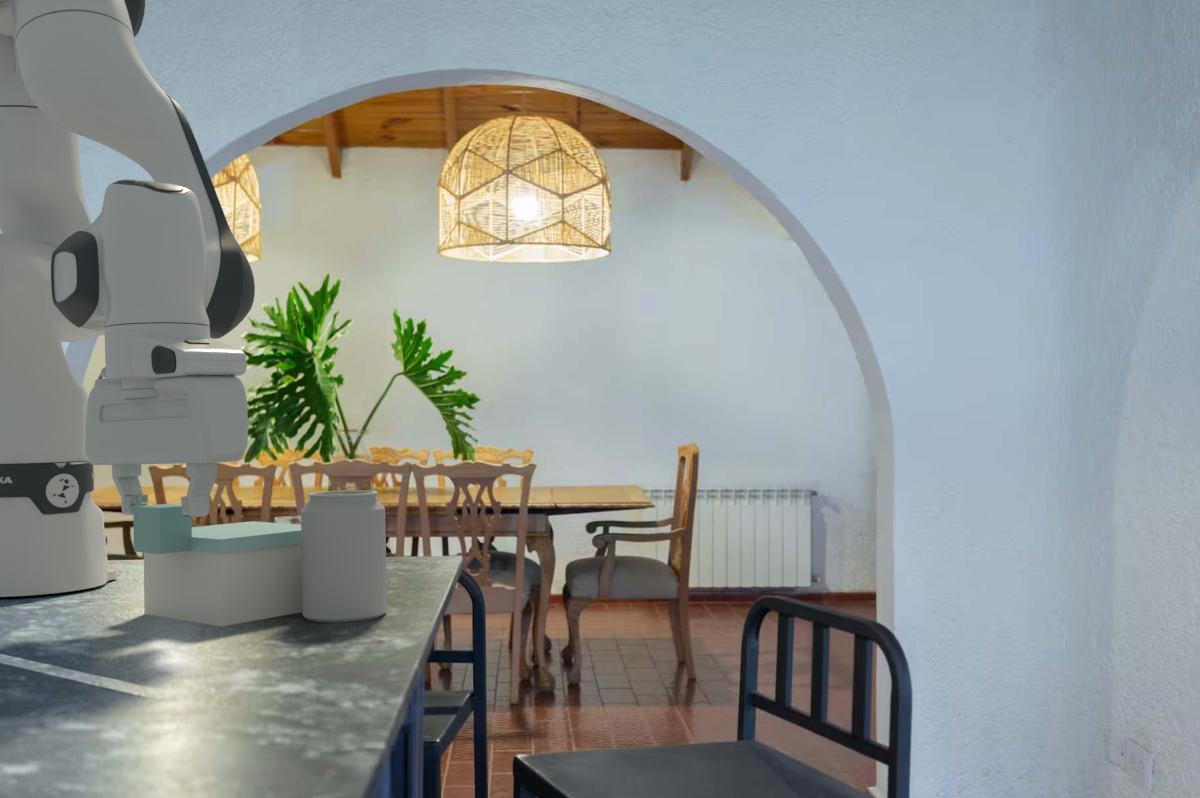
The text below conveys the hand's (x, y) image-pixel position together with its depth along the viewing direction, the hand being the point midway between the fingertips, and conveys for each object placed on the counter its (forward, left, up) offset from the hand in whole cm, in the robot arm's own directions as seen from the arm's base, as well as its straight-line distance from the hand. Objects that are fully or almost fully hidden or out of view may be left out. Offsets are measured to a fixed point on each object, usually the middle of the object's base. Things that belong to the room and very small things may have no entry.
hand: (164, 515), depth 104 cm
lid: (0, +6, -4) cm, 8 cm away
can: (+11, +11, -10) cm, 19 cm away
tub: (0, +8, -10) cm, 13 cm away
